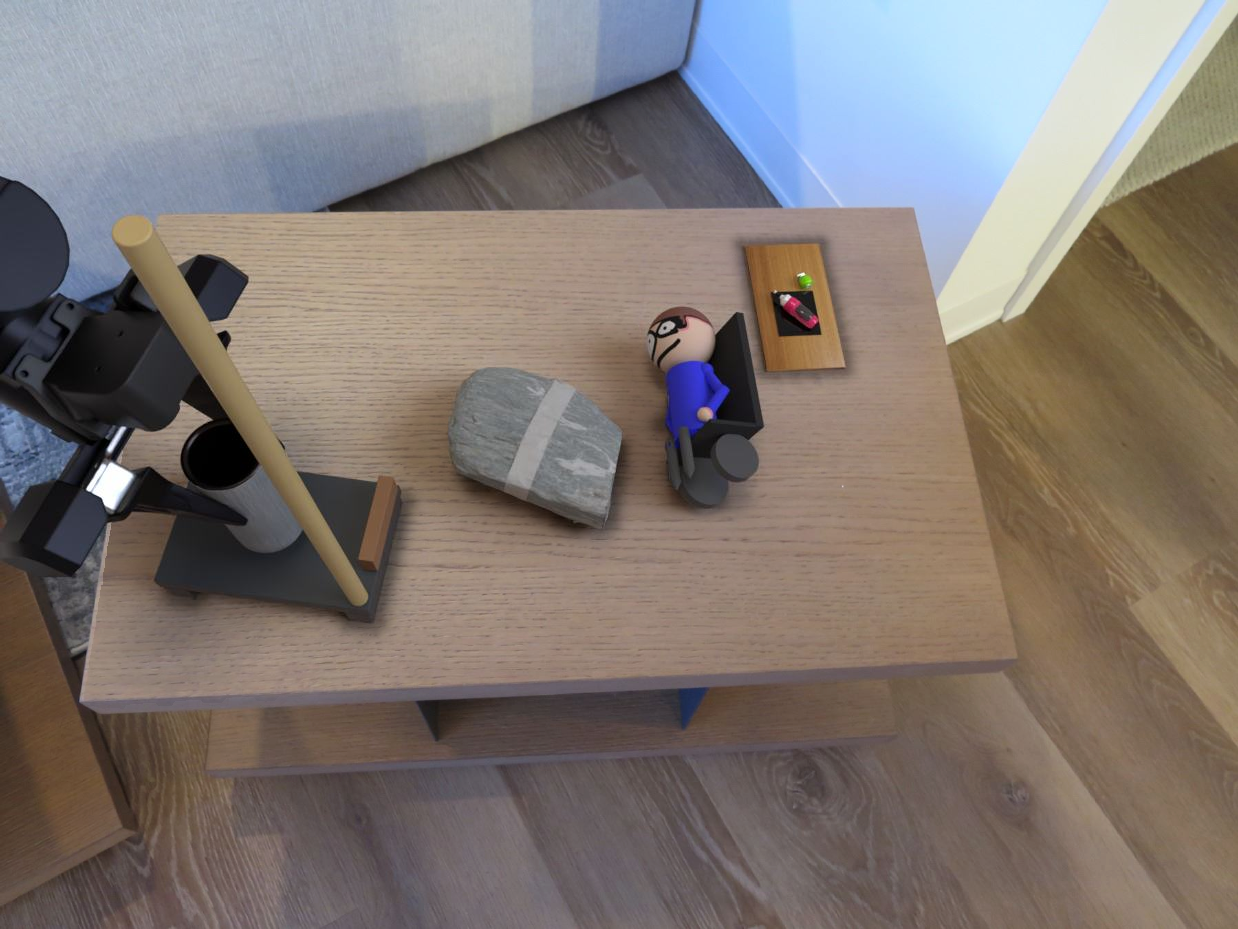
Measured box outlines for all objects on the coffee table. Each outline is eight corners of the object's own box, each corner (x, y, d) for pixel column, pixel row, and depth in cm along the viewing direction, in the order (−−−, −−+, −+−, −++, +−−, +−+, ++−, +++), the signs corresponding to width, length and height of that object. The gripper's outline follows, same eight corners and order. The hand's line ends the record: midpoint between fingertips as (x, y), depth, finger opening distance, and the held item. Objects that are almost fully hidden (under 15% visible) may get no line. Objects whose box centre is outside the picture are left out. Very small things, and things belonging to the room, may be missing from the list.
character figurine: (661, 520, 69) (643, 344, 75) (761, 512, 69) (734, 337, 76) (664, 475, 62) (644, 285, 68) (775, 466, 62) (745, 277, 69)
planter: (320, 523, 62) (281, 456, 53) (260, 568, 61) (209, 506, 51) (279, 476, 63) (234, 401, 54) (219, 518, 62) (162, 449, 53)
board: (818, 244, 80) (823, 233, 79) (844, 368, 75) (850, 358, 74) (745, 247, 80) (748, 235, 78) (767, 371, 75) (770, 361, 73)
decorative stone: (430, 486, 69) (420, 450, 63) (483, 372, 73) (477, 328, 68) (602, 544, 68) (606, 511, 62) (645, 424, 72) (653, 384, 67)
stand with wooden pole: (169, 595, 64) (-324, 188, 28) (210, 474, 68) (-177, -20, 32) (376, 623, 64) (149, 254, 28) (405, 501, 68) (238, 39, 32)
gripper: (-86, 483, 37) (254, 642, 47) (153, 141, 45) (403, 335, 54) (-139, 500, 45) (163, 634, 54) (74, 205, 53) (305, 365, 62)
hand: (262, 487), depth 56 cm, fingers closed on planter, 4 cm apart
